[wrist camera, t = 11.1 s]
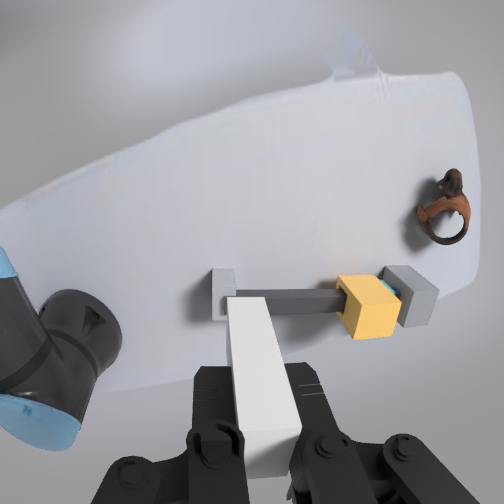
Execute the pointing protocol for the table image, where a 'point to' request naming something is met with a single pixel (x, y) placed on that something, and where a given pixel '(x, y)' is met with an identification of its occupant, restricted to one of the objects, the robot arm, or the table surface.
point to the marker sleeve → (368, 307)
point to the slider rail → (332, 296)
